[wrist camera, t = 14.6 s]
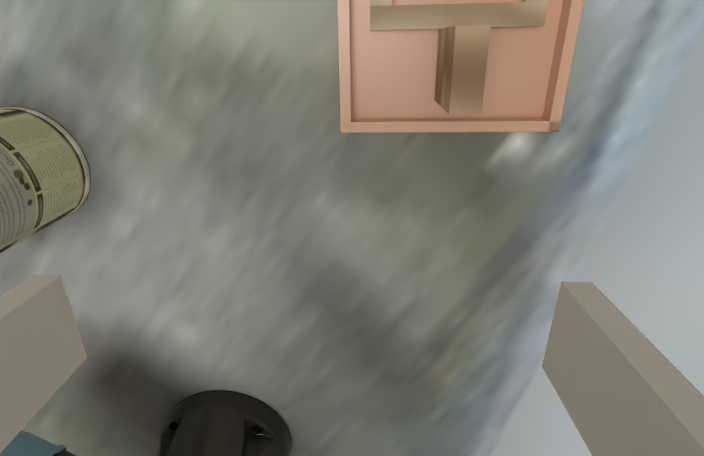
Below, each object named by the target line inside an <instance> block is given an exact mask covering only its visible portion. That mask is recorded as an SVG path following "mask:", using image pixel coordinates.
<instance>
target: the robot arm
mask: <svg viewBox="0 0 704 456" xmlns="http://www.w3.org/2000/svg"><path fill="white" fill-rule="evenodd" d="M86 359H87V355H86V352H85V349H84V346H83V342H82V339H81V336H80V333H79V330H78V327H77V324H76V321H75V318H74V315H73V312H72V309H71V305H70V302H69V299H68V296H67V293H66V290H65V287H64V284H63V281H62V278H61V275H32V276H30V277H29V278H27V279H26V280H24V281H23V282H21V283H20V284H18V285H17V286H15V287H14V288H12V289H11V290H9V291H8V292H6V293H5V294H3V295H2V296H0V456H76V455H74V454H72V453H70V452H68V451H66V449H67V448H66V447H65V446H63V445H60V446H56V445H54V444H52V443H50V442H48V441H46V440H43V439H41V438H39V437H37V436H35V435H33V434H31V433H28V432H25V431H21V430H22V429H23V428H24V427H25V426H26V424H27V423H28V422H29V421H30V420H31V419H32V418H33V417H34V416H35V415H36V414H37V412H38V411H39V410H40V409H41V408H42V407H43V406H44V405H45V404H46V403H47V401H48V400H49V399H50V398H51V397H52V396H53V395H54V394H55V393H56V392H57V390H58V389H59V388H60V387H61V386H62V385H63V384H64V383H65V382H66V381H67V380H68V378H69V377H70V376H71V375H72V374H73V373H74V372H75V371H76V370H77V369H78V367H79V366H80V365H81V364H82V363H83V362H84V361H85V360H86ZM542 367H543V369H544V371H545V372H546V374H547V376H548V378H549V379H550V381H551V383H552V385H553V387H554V388H555V390H556V392H557V394H558V396H559V397H560V399H561V401H562V403H563V404H564V406H565V408H566V410H567V412H568V413H569V415H570V417H571V419H572V420H573V422H574V424H575V426H576V427H577V429H578V431H579V433H580V434H581V436H582V438H583V440H584V442H585V443H586V445H587V447H588V449H589V450H590V452H591V454H592V456H704V396H703V395H702V394H701V393H700V392H699V391H698V390H697V389H696V388H695V387H694V386H693V385H692V384H691V383H690V382H689V380H688V379H686V377H685V376H684V375H683V374H682V373H681V372H680V371H679V370H678V369H677V368H676V367H675V366H673V364H672V363H671V362H670V361H669V360H668V359H667V358H666V357H665V356H664V355H663V354H662V353H661V352H660V351H659V350H658V349H657V348H656V347H655V346H654V345H653V344H652V343H651V342H650V341H649V340H648V339H647V338H646V337H645V336H644V335H643V334H642V333H641V332H640V331H639V330H638V329H637V328H636V327H635V326H634V325H633V324H632V323H631V322H630V321H629V320H628V319H627V318H626V317H625V316H624V314H623V313H622V312H620V310H619V309H618V308H616V306H615V305H614V304H613V303H612V302H611V301H610V300H609V299H608V298H607V297H606V296H605V295H604V294H603V293H602V292H601V291H600V290H599V289H598V288H597V287H596V286H595V285H594V284H593V283H592V282H561V286H560V291H559V295H558V300H557V304H556V308H555V313H554V317H553V321H552V326H551V330H550V334H549V339H548V343H547V347H546V352H545V356H544V360H543V365H542ZM290 448H291V438H290V434H289V431H288V428H287V426H286V425H285V423H284V422H283V420H282V419H281V418H280V417H279V416H278V415H277V414H276V413H275V412H274V411H273V410H272V409H271V408H269V407H268V406H266V405H265V404H263V403H261V402H259V401H257V400H255V399H253V398H250V397H248V396H245V395H241V394H237V393H232V392H223V391H212V392H204V393H199V394H196V395H193V396H190V397H188V398H186V399H185V400H183V401H181V402H180V403H179V404H178V405H177V406H176V407H175V408H174V409H173V411H172V412H171V414H170V416H169V418H168V420H167V421H166V423H165V425H164V427H163V429H162V432H161V435H160V440H159V446H158V452H157V456H289V453H290Z"/></svg>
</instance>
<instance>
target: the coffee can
mask: <svg viewBox="0 0 704 456" xmlns="http://www.w3.org/2000/svg"><path fill="white" fill-rule="evenodd" d="M89 189H90V172H89V166H88V163H87V161H86V159H85V157H84V154H83V152H82V150H81V148H80V147H79V145H78V144H77V142H76V141H75V140H74V138H73V137H72V136H71V135H70V134H69V133H68V132H67V131H66V130H65V129H64V128H63V127H62V126H61V125H59V124H58V123H57V122H55V121H54V120H52V119H50V118H49V117H47V116H45V115H43V114H41V113H40V112H37V111H34V110H31V109H28V108H23V107H13V106H11V107H3V108H0V253H1V252H3V251H5V250H6V249H8V248H10V247H11V246H13V245H15V244H17V243H19V242H20V241H22V240H24V239H26V238H27V237H29V236H31V235H33V234H34V233H36V232H38V231H40V230H41V229H43V228H45V227H47V226H49V225H50V224H52V223H54V222H55V221H57V220H59V219H61V218H62V217H64V216H67V215H69V214H71V213H73V212H74V211H76V210H77V209H78V208H79V207H80V206H81V205H82V204H83V203H84V202H85V200H86V198H87V195H88V193H89Z"/></svg>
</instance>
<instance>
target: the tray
mask: <svg viewBox="0 0 704 456" xmlns="http://www.w3.org/2000/svg"><path fill="white" fill-rule="evenodd" d="M337 1H338V41H339V80H340V120H341V133H357V132H559V127H560V122H561V117H562V112H563V106H564V101H565V96H566V91H567V86H568V81H569V75H570V70H571V65H572V60H573V55H574V50H575V45H576V39H577V34H578V29H579V24H580V19H581V14H582V8H583V3H584V0H548V6H547V12H546V18H545V25H544V26H540V27H505V28H491V30H490V40H489V49H488V58H487V67H486V76H485V86H484V95H483V104H482V113H481V114H461V115H449V114H448V113H447V112H446V111H445V110H444V109H443V108H442V107H441V106H440V105H439V104H438V103H437V102H436V101H435V100H434V98H435V81H436V65H437V49H438V32H439V29H419V30H376V31H370V0H337ZM503 2H519V0H392V5H428V4H466V3H503Z"/></svg>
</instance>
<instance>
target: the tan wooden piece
mask: <svg viewBox="0 0 704 456" xmlns="http://www.w3.org/2000/svg"><path fill="white" fill-rule="evenodd" d="M547 6H548V0H519V2H503V3H466V4H428V5H392V0H370V31H376V30H419V29H439V32H438V49H437V65H436V81H435V98H434V100H435V101H436V102H437V103H438V104H439V105H440V106H441V107H442V108H443V109H444V110H445V111H446V112H447V113H448V114H449V115H461V114H481V113H482V104H483V95H484V86H485V76H486V67H487V58H488V49H489V40H490V30H491V28H505V27H540V26H544V25H545V18H546V12H547Z"/></svg>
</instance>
